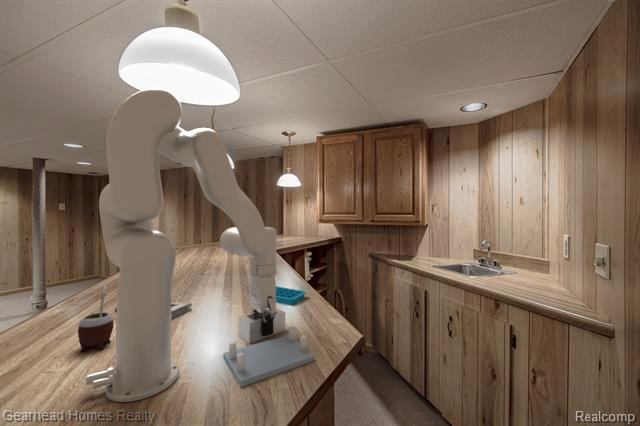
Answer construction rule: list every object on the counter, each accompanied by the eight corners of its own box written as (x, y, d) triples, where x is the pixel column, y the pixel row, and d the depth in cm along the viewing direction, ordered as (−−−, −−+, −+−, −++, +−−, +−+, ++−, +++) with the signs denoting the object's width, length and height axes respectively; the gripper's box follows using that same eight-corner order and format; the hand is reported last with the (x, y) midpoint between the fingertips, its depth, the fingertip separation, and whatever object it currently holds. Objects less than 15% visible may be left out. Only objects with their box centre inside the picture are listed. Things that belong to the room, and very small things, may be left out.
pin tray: (240, 387, 54) (240, 364, 54) (223, 357, 65) (223, 338, 65) (314, 360, 64) (315, 340, 64) (289, 338, 75) (289, 322, 75)
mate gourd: (85, 357, 65) (85, 294, 64) (71, 348, 68) (72, 289, 68) (120, 344, 71) (121, 287, 71) (106, 337, 75) (106, 283, 75)
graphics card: (171, 312, 86) (113, 303, 93) (171, 322, 86) (113, 313, 93) (194, 302, 96) (140, 295, 103) (194, 311, 96) (140, 304, 103)
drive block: (249, 343, 72) (249, 323, 72) (238, 336, 76) (238, 316, 76) (285, 330, 81) (285, 311, 81) (273, 324, 85) (273, 306, 85)
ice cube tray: (268, 291, 121) (268, 284, 120) (307, 298, 111) (307, 291, 111) (250, 298, 110) (251, 291, 110) (292, 307, 101) (292, 299, 101)
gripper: (240, 265, 84) (240, 322, 84) (262, 277, 69) (261, 346, 69) (263, 263, 88) (263, 317, 88) (288, 273, 73) (287, 338, 74)
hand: (262, 329), depth 79 cm, fingers closed on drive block, 6 cm apart
